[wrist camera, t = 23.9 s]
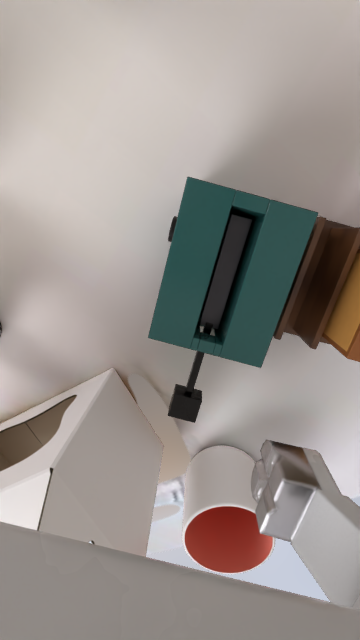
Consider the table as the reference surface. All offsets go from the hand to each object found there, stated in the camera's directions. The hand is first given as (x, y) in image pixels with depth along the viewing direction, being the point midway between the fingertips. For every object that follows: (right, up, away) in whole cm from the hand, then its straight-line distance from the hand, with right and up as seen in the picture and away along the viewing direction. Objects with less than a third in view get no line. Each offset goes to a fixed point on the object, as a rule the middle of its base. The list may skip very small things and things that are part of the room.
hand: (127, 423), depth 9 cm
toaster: (+6, +9, +26) cm, 28 cm away
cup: (+7, -18, +34) cm, 39 cm away
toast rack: (+16, +8, +26) cm, 31 cm away
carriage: (+4, +3, +21) cm, 21 cm away
